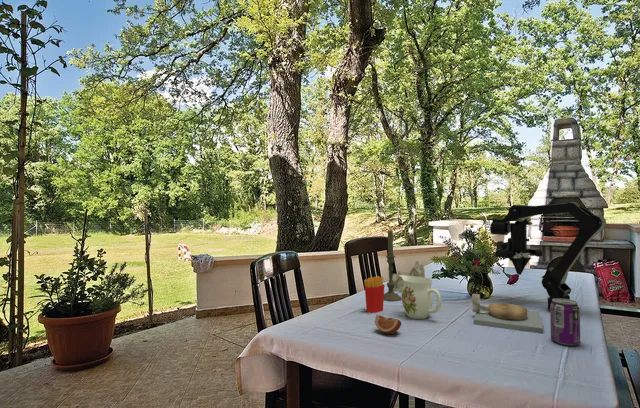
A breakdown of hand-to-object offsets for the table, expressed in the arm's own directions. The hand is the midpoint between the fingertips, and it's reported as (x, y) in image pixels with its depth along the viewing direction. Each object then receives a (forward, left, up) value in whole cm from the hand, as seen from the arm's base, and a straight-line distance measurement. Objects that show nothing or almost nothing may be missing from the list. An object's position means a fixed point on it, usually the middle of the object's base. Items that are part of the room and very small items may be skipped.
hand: (519, 274), depth 146 cm
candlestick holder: (+49, +14, -12) cm, 52 cm away
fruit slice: (+37, +56, -12) cm, 68 cm away
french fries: (+49, +35, -12) cm, 61 cm away
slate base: (+4, +25, -12) cm, 28 cm away
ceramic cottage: (+46, -8, -12) cm, 48 cm away
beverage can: (-11, +41, -12) cm, 44 cm away
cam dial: (+7, +25, -10) cm, 28 cm away
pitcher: (+32, +35, -12) cm, 49 cm away
